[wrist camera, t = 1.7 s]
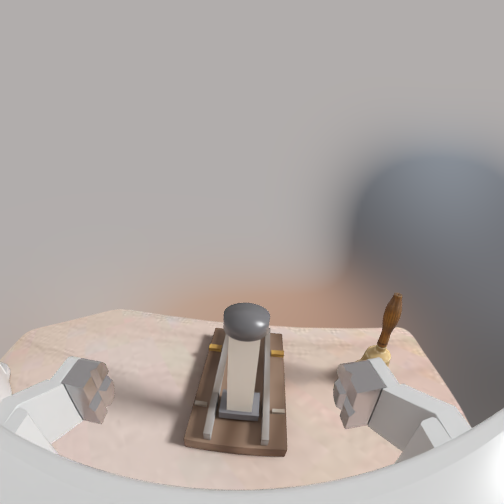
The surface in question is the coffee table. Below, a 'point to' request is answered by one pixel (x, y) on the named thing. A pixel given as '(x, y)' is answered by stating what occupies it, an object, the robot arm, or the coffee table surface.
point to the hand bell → (386, 330)
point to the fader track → (232, 430)
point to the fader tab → (243, 360)
